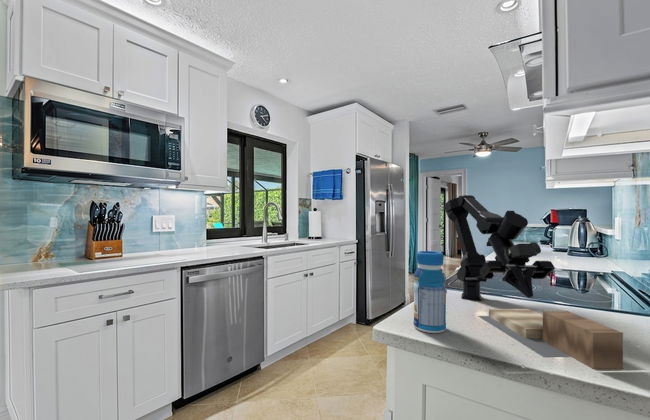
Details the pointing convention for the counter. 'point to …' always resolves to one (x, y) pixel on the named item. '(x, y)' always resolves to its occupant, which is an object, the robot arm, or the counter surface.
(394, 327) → the counter surface
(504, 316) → the birch board
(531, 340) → the rubber mat
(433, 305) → the beverage bottle
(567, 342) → the walnut block
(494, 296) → the counter surface
